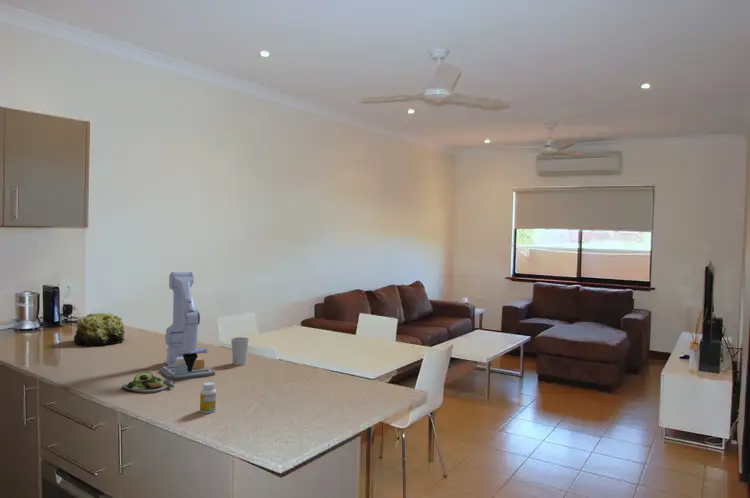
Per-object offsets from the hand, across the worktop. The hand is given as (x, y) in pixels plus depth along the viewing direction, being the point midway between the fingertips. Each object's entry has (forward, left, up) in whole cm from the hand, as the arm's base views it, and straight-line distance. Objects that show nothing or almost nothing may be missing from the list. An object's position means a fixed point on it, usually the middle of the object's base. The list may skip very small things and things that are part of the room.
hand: (189, 371), depth 240 cm
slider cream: (-12, 0, -1) cm, 12 cm away
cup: (-12, +28, -3) cm, 31 cm away
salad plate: (+7, -19, -3) cm, 20 cm away
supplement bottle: (+47, -9, -3) cm, 47 cm away
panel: (-6, +1, -3) cm, 7 cm away
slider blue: (0, -3, -1) cm, 4 cm away
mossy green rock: (-91, -19, -3) cm, 93 cm away
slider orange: (-6, +6, -1) cm, 9 cm away
